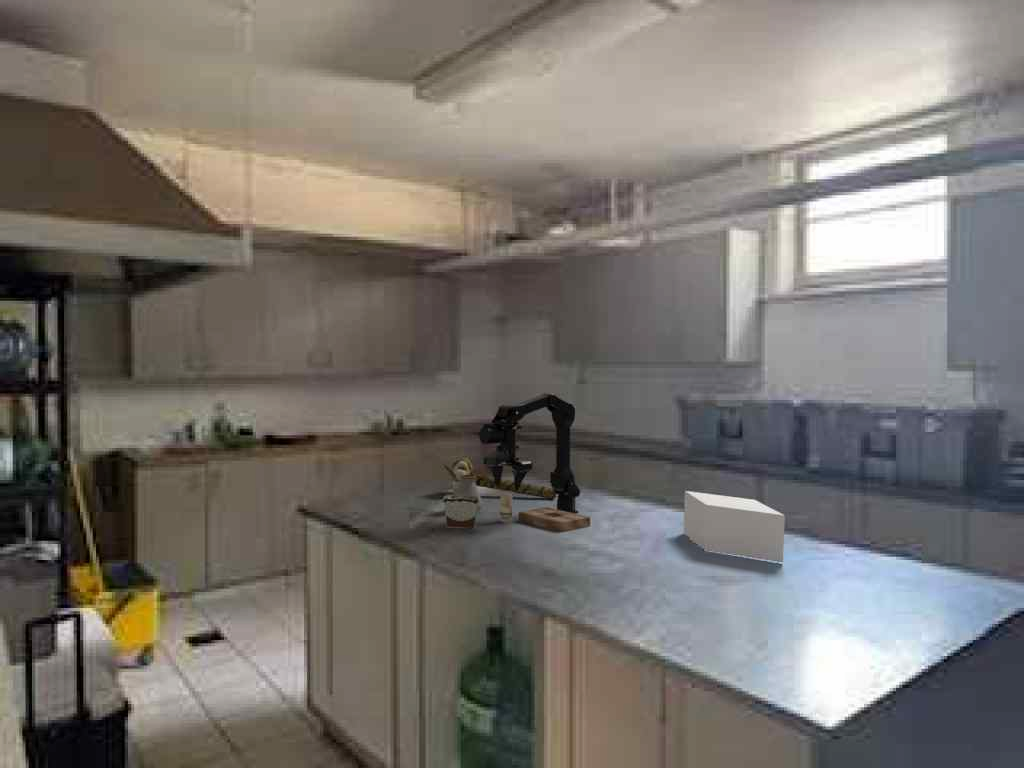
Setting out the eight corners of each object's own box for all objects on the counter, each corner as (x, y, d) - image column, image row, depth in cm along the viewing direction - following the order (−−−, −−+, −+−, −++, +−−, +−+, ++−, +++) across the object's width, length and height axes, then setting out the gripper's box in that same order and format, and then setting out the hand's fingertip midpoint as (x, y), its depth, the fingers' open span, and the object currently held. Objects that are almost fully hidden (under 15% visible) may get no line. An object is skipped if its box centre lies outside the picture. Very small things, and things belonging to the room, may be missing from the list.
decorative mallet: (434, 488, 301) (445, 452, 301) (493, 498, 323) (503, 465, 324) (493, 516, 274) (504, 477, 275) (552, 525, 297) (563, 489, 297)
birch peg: (506, 519, 259) (506, 493, 258) (514, 521, 256) (515, 495, 255) (497, 521, 256) (497, 494, 255) (505, 523, 253) (506, 496, 252)
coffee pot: (489, 512, 269) (490, 471, 268) (462, 516, 262) (463, 473, 261) (456, 502, 286) (456, 463, 285) (430, 505, 279) (430, 465, 278)
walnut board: (546, 515, 267) (547, 507, 266) (589, 526, 252) (590, 517, 252) (518, 520, 257) (518, 512, 257) (561, 532, 242) (561, 522, 242)
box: (706, 531, 250) (707, 488, 249) (806, 561, 215) (808, 512, 215) (659, 537, 240) (661, 493, 239) (757, 569, 205) (759, 518, 205)
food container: (481, 524, 250) (482, 494, 250) (479, 528, 244) (479, 498, 244) (445, 523, 251) (445, 493, 251) (441, 527, 245) (442, 496, 245)
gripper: (471, 441, 256) (470, 486, 256) (509, 447, 242) (508, 495, 243) (496, 439, 263) (495, 483, 264) (533, 444, 250) (532, 491, 251)
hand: (506, 488), depth 255 cm, fingers open, 9 cm apart
